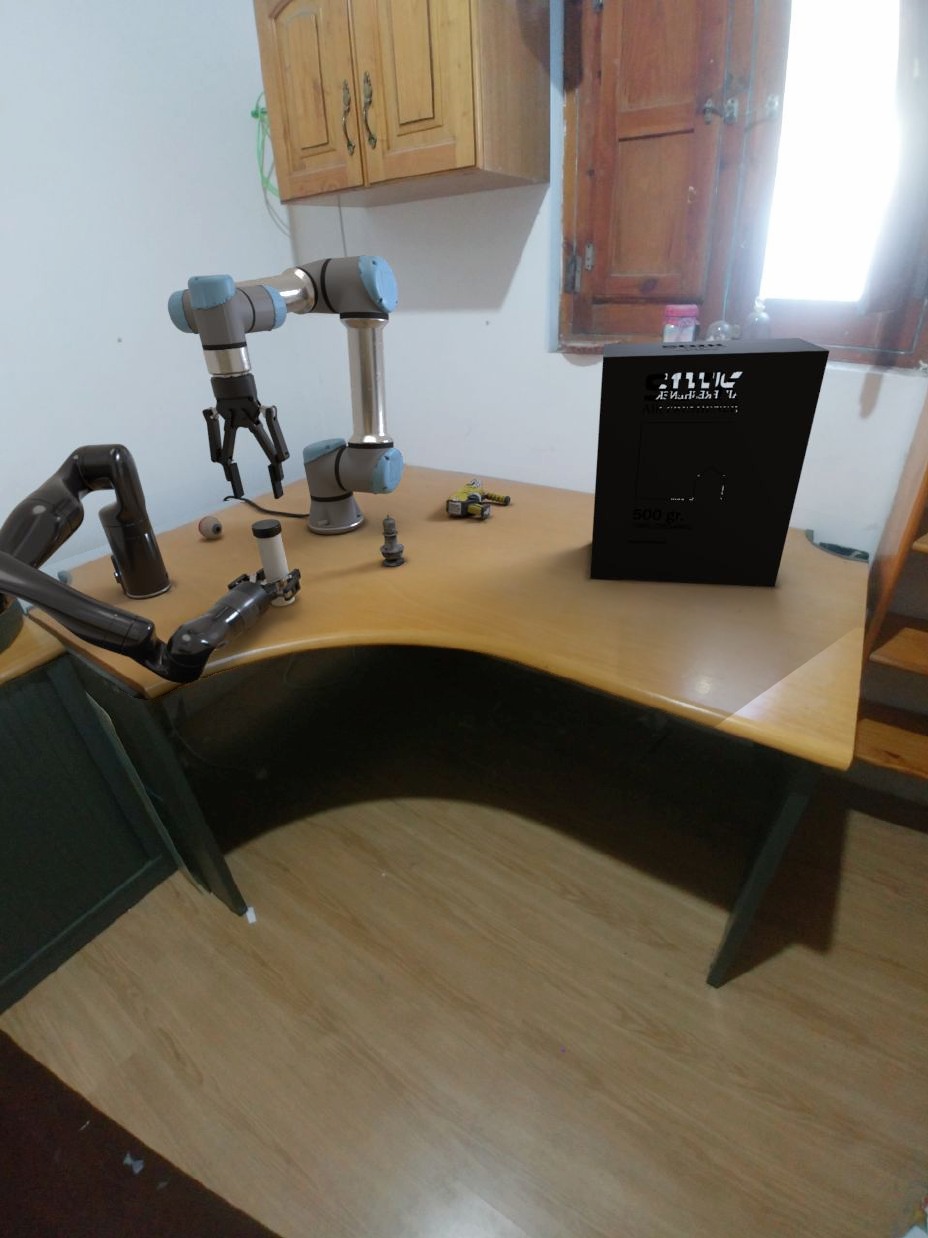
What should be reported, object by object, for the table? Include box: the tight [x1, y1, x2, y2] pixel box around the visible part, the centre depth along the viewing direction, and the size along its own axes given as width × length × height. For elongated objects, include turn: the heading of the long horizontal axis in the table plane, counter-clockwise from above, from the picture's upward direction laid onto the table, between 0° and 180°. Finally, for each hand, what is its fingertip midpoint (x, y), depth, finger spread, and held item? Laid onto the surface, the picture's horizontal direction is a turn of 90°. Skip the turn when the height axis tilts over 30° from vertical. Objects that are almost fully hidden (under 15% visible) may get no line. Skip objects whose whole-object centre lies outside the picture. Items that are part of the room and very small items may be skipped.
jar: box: [255, 532, 296, 607], centre depth 127 cm, size 5×5×17 cm
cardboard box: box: [589, 337, 830, 587], centre depth 126 cm, size 38×20×45 cm, turn 78°
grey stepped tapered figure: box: [379, 514, 405, 567], centre depth 143 cm, size 6×6×12 cm
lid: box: [251, 518, 283, 538], centre depth 123 cm, size 6×6×2 cm
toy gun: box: [445, 478, 511, 520], centre depth 176 cm, size 5×24×15 cm
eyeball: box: [197, 516, 223, 540], centre depth 164 cm, size 6×6×6 cm
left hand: (282, 571), depth 130 cm, fingers open, 7 cm apart
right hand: (259, 496), depth 119 cm, fingers open, 8 cm apart
